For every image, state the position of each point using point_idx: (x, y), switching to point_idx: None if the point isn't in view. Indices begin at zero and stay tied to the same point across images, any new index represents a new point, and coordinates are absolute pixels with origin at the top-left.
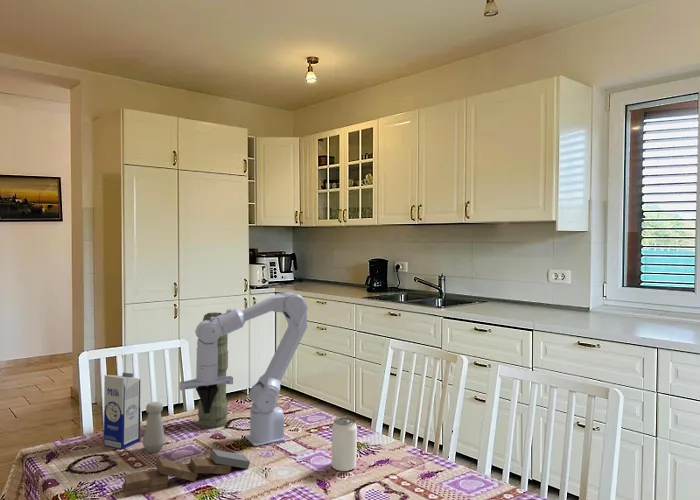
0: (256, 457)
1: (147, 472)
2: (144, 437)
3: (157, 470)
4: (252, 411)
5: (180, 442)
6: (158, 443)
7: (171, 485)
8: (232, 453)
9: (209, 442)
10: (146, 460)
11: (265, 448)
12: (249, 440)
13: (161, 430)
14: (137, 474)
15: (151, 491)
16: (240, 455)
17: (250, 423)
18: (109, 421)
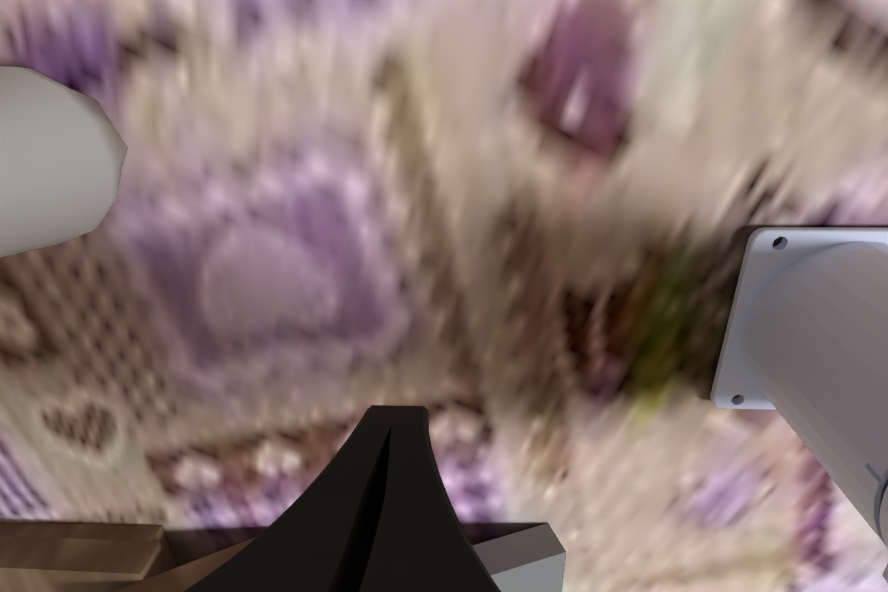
0: (639, 513)
1: (62, 585)
2: None
3: (107, 587)
4: (880, 511)
5: (267, 83)
6: (66, 241)
7: None
8: (497, 581)
9: (476, 192)
10: (49, 294)
11: (751, 442)
12: (730, 327)
13: (18, 238)
14: (17, 583)
15: None
16: (538, 575)
17: (811, 382)
18: None
